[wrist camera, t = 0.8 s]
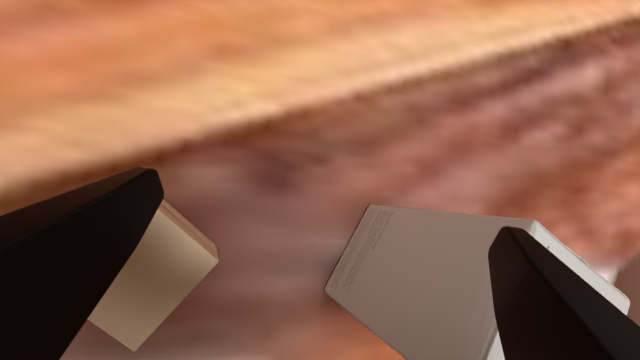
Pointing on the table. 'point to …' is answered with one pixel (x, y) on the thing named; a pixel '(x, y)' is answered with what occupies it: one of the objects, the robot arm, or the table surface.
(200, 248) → the beech block
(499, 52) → the table surface
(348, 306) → the supplement box
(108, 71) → the table surface
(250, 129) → the table surface
